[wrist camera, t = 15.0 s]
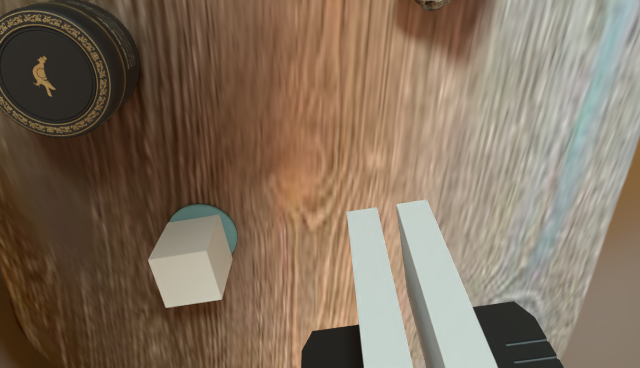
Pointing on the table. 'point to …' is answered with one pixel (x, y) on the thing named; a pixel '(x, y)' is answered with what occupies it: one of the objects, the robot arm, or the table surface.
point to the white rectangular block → (191, 261)
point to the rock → (432, 4)
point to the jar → (64, 67)
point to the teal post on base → (209, 210)
